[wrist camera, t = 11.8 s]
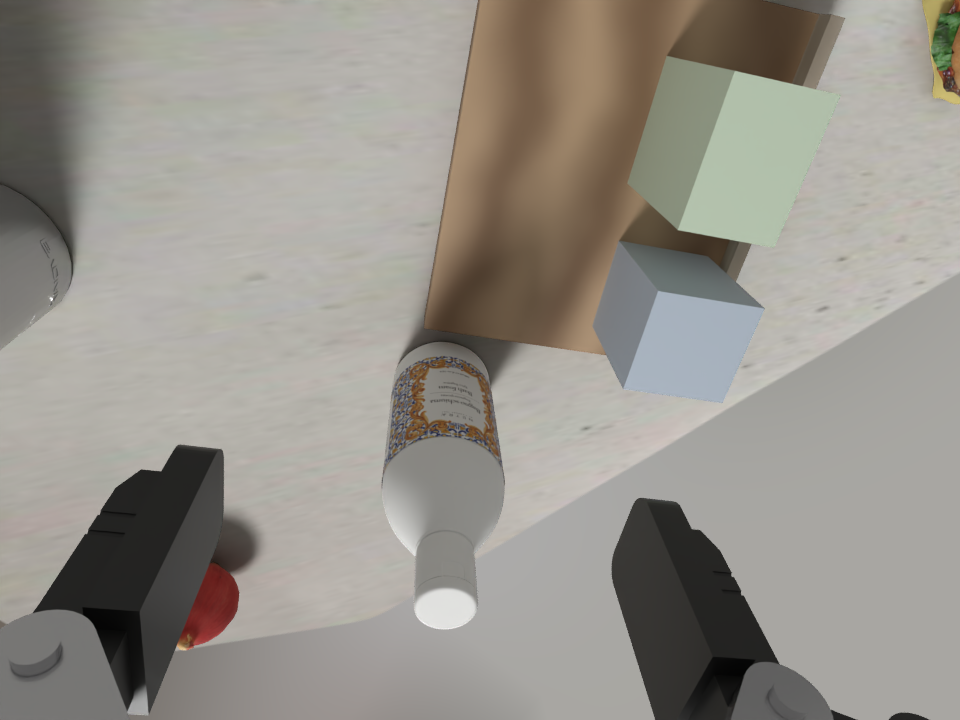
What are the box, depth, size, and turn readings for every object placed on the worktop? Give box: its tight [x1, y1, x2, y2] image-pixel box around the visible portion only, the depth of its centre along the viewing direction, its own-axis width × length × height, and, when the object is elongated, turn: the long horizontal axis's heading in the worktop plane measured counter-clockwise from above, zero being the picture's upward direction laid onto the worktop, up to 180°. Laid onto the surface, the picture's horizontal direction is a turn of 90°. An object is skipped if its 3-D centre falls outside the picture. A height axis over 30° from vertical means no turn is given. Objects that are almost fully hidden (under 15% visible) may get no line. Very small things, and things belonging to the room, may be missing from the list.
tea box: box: [628, 56, 841, 248], centre depth 33 cm, size 5×7×9 cm
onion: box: [177, 563, 239, 650], centre depth 50 cm, size 6×6×8 cm
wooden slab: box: [424, 0, 845, 355], centre depth 38 cm, size 19×22×3 cm
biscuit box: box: [592, 241, 765, 403], centre depth 38 cm, size 6×6×8 cm
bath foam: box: [382, 342, 505, 629], centre depth 37 cm, size 7×7×20 cm
